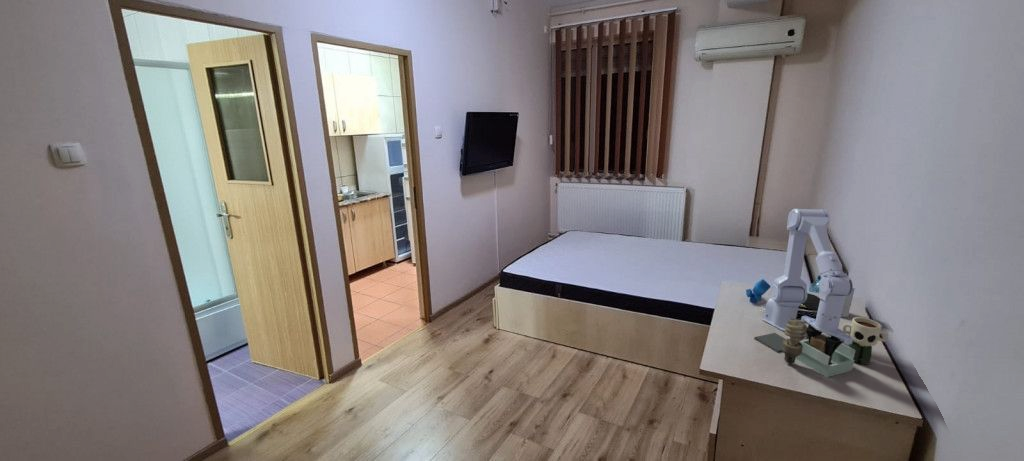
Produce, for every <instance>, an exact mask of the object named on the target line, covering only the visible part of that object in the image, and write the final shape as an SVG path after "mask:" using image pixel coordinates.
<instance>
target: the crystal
mask: <svg viewBox="0 0 1024 461" xmlns="http://www.w3.org/2000/svg"><path fill="white" fill-rule="evenodd" d="M771 288H772V286H771V285H770V284H769V283H768V282H767V281H766V280H765V279H764V278H763V279H760V280H758V281H757V282H756V283H755V284H754V286H753V288H749V289H746V290H745V294H746V296H747V298H749V302H750V303H754V304H757V303H758V302H759V301H761V300H762V296H763V295H765V294H766V293H767V291H768V290H770V289H771Z"/></svg>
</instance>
